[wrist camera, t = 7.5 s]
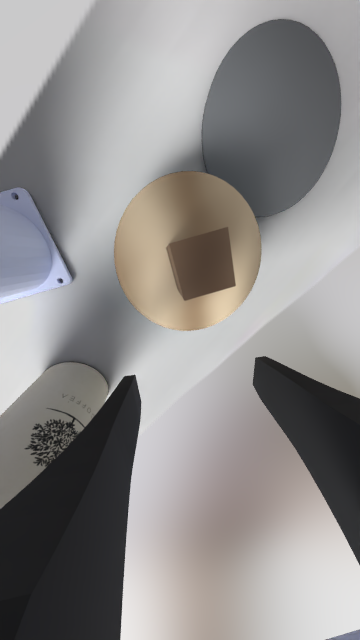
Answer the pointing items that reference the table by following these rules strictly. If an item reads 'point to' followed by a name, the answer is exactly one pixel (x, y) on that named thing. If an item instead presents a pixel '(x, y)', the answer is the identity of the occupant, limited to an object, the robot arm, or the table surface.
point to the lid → (187, 250)
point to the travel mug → (46, 422)
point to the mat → (272, 115)
